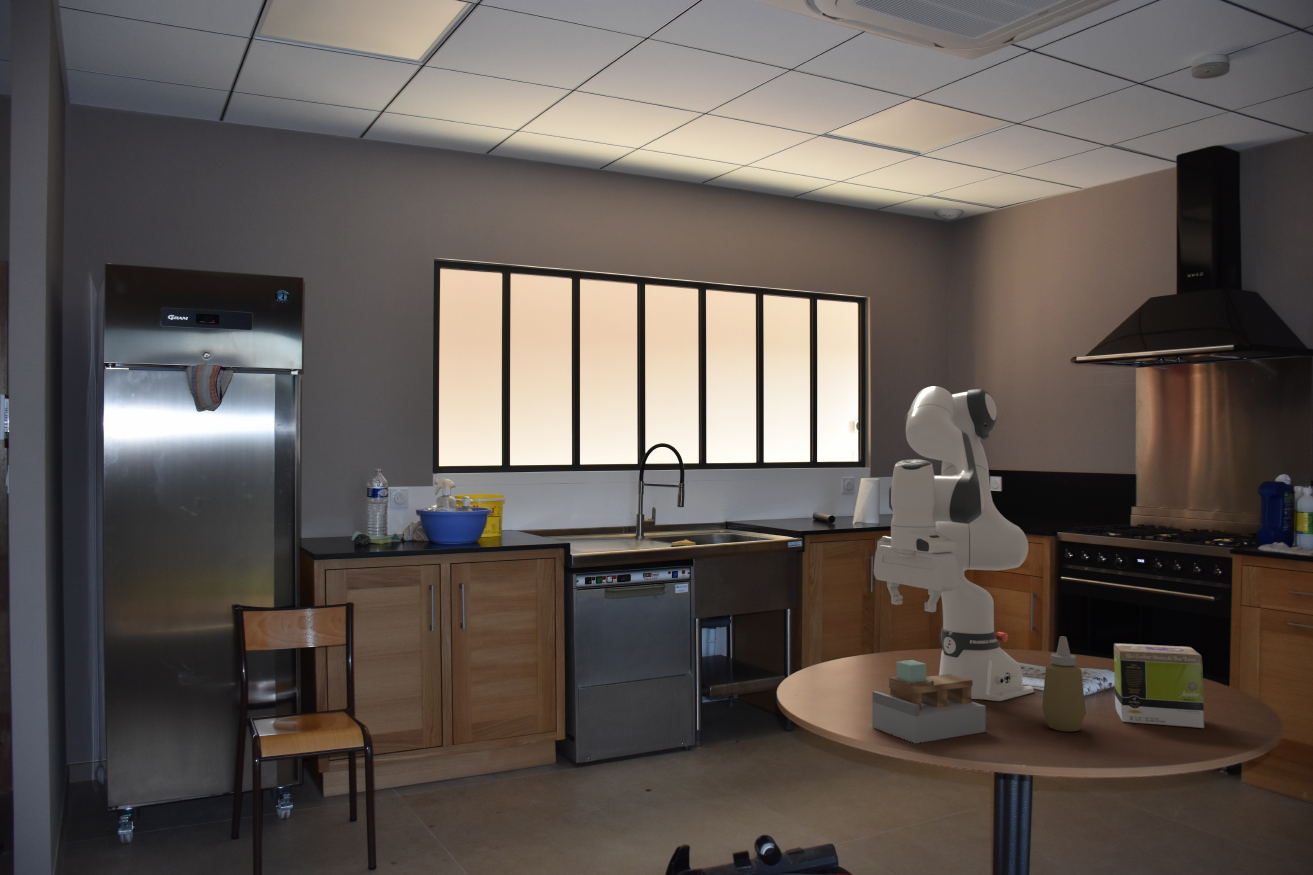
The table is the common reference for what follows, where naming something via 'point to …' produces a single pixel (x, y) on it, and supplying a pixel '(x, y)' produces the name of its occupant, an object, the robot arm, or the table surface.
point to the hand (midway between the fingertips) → (913, 607)
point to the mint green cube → (911, 671)
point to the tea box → (1159, 685)
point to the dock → (926, 718)
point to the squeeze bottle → (1063, 691)
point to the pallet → (933, 690)
